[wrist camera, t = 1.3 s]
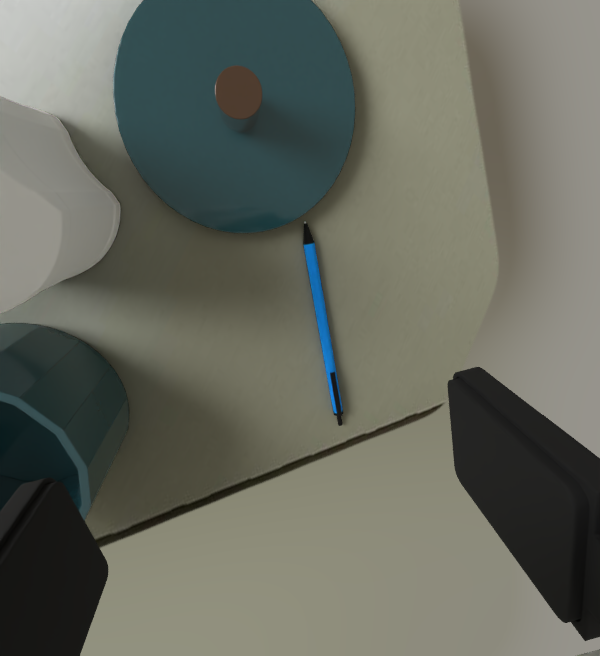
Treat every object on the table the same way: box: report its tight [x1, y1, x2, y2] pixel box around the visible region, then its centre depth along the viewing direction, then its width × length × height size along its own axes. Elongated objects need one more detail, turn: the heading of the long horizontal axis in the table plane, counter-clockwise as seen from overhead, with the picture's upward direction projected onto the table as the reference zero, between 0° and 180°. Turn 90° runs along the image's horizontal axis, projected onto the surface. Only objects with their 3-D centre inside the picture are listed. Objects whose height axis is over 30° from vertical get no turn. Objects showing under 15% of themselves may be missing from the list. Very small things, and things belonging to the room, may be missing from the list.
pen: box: [303, 221, 343, 426], centre depth 34 cm, size 1×19×1 cm, turn 11°
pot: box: [0, 323, 129, 521], centre depth 28 cm, size 15×15×10 cm
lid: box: [113, 0, 355, 233], centre depth 24 cm, size 16×16×7 cm
